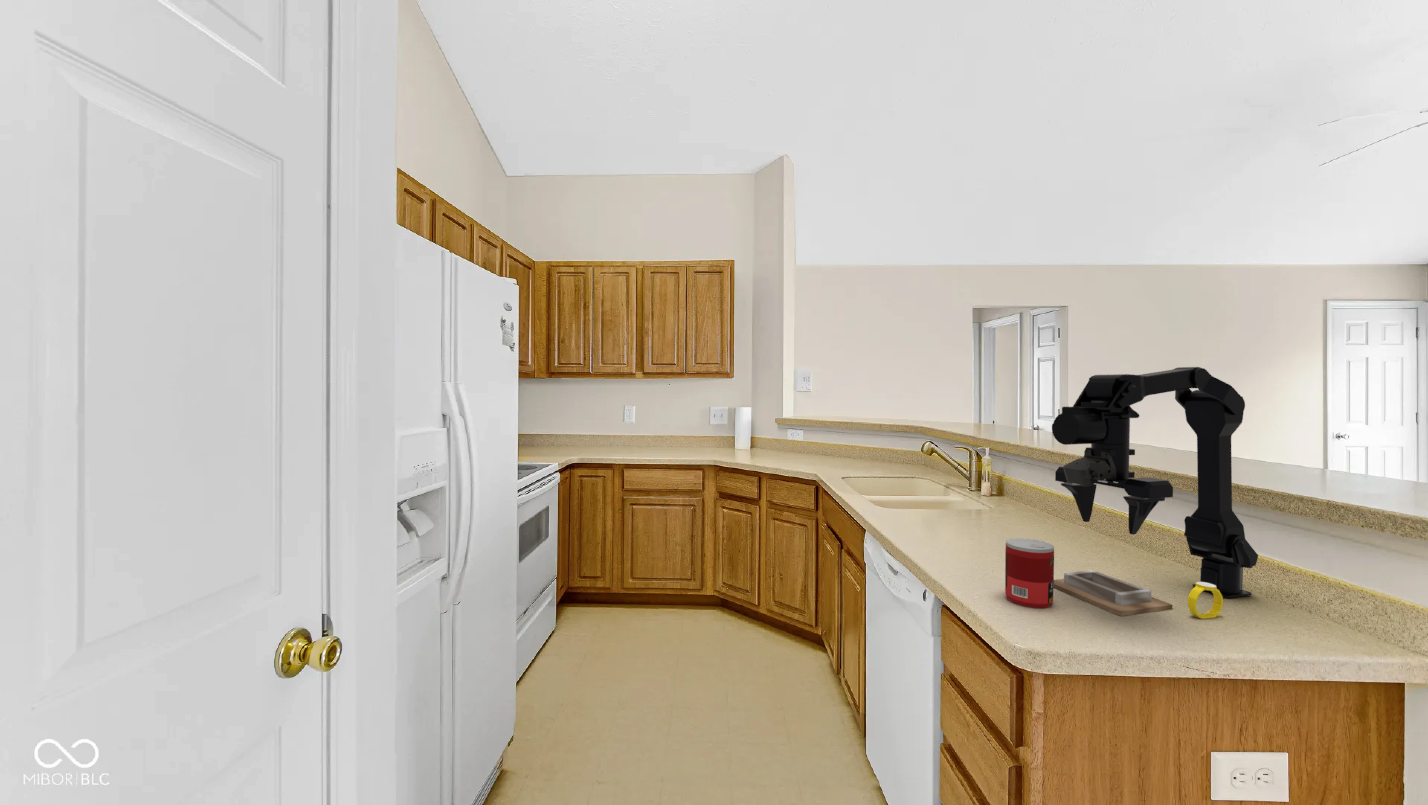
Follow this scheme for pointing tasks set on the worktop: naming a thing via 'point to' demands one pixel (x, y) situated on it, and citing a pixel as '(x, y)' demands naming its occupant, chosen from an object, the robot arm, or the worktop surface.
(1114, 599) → the track board
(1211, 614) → the watch
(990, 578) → the worktop surface
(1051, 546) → the canned food
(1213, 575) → the robot arm
